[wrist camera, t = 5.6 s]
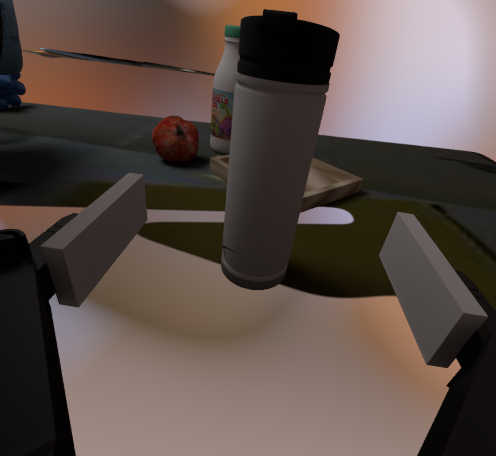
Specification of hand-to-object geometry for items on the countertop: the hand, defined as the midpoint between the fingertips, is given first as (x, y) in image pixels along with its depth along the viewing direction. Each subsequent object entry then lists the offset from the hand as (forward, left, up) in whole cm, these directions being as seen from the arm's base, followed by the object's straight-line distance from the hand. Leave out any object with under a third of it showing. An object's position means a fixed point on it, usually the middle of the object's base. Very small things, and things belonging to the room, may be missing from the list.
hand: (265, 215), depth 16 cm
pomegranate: (+13, +35, -11) cm, 39 cm away
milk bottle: (+25, +36, -11) cm, 45 cm away
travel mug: (+6, +6, -11) cm, 14 cm away
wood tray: (+24, +20, -11) cm, 33 cm away
